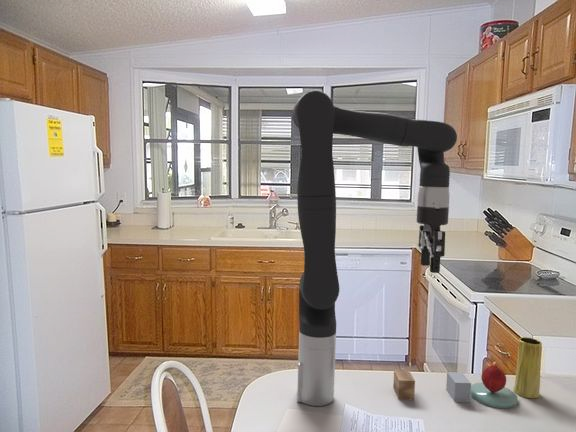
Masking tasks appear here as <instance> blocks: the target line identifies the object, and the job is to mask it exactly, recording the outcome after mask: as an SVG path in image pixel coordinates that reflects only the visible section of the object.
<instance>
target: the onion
mask: <svg viewBox="0 0 576 432" xmlns="http://www.w3.org/2000/svg"><path fill="white" fill-rule="evenodd" d="M480 378H481V383H483V384H484V386H485V387H486V388H487V389H488V390H489V391H491V392H492V393H495V392H498V391H500V390H501V389H503V388H504V387H505V388H506V385H507V376H506V374H505V372H504V371H503V369H502V368H501V367H499V366H498V363H497V362H496V361H494V362H492V364H491V365H489V366H487V367H485V368H484V369H483V371H482V373H481V377H480Z"/></svg>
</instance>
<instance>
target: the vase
mask: <svg viewBox="0 0 576 432" xmlns="http://www.w3.org/2000/svg"><path fill="white" fill-rule="evenodd" d="M542 347H543V343H542V341H541V340H539V339H535V338H534V337H528V336H525V337H524V336H523V337H519V340H518V348H517V359H516V360H517V361H516V366H515V367H516V368H515V380H514V387H513V392H514V393H515V394H516V395H518V396H520V397H523V398H526V399H537V398H539V397H540V395H541V394H540V389H541V387H540V386H541V367H542V366H541V364H542V361H541V359H542Z"/></svg>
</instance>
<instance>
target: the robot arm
mask: <svg viewBox="0 0 576 432" xmlns="http://www.w3.org/2000/svg"><path fill="white" fill-rule="evenodd" d="M292 110H293V111H292V120H293V123H294V125H295V126H296V127H297V129H298V131H299V139H300V163H299V169H298V170H299V171H298V177H297V178H298V179H297V190H296V192H297V193H296V196H297V197H296V198H297V213H298V214H297V216H298V224H299V230H300V235H301V240H302V244H303V253H304V254H303V255H304V257H303V258H304V259H303V261H304V262H303V263H304V266H303V267H304V268H303V273H302V274H301V275H300V279H299V287H298V289H299V291H298V292H299V293H298V325H299V327H298V329H299V330H298V334H299V335H298V359H297V389H296V390H297V395H296V396H297V398H296V399H297V400H296V402H297V403H303V404H305V405H309V406H313V407H321V406H328V405H329V404H331V403H332V402H333V401H334V398H335V397H334V396H335V373H336V372H335V371H336V349H337V348H336V344H337V343H336V342H337V319H336V301H337V300H338V298H339V295H340V283H339V282H340V281H339V276H338V270H337V269H338V268H337V260H336V234H337V232H336V231H337V196H336V194H337V192H336V182H335V181H336V180H335V177H336V176H335V168H334V158H333V141H334V139H333V137H334V134H335V135H341V136H351V137H356V138H362V139H365V140H368V141H369V140H370V141H373V142H374V141H375V142H378V143H383V144H388V145H392V146H398V147H415V148H417V155H418V163H419V167H420V170H419V187H418V193H417V207H416V208H417V209H416V223H417V224H419V234H418V244H417V245H418V248H419V250H420V263H419V264H420V265H421V266H423V267H424V266H427V267H428V266H429V271H430V273H431V274H439V273H440V271H441V258H442V257H445V256H446V255H445V254H446V252H445V251H446V249H445V248H446V231H444V230H443V231H441V226H446V225H448V223H449V213H450V177H451V176H450V174H451V171H450V167H449V164H447V163H446V162H445V155H444V153H445V152H447V151H450V150H451V149H452V148H453V147H454V146H455V145H456V144H457V140H458V134H457V131H456V130H455V128H454V127H453V126H451V124H449V123H446V122H441V121H435V120H428V119H427V120H425V119H413V118H409V117H406V116H402V115H397V114H391V113H386V112H378V111H377V112H376V111H361V110H351V109H346V108H342V107H338V106H336V105H334V103H333V101H332V99H331V98H330V96H329V95H328V94H327V93H325V92H323V91H322V90H318V89H316V90H310V91H307V92H306V93H304V94H303V95H302V96H300V97H299V98H298V99H297V102H295V105H294V106H293V109H292Z"/></svg>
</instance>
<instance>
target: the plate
mask: <svg viewBox="0 0 576 432" xmlns="http://www.w3.org/2000/svg"><path fill="white" fill-rule="evenodd" d="M470 397H472V398H473V400H475V401H476V402H478V403H480V404H483V405H485V406H488V407H491V408H498V409H510V408H514V407H516V405H517V403H518V396H517V393H515V391H514V390H511V389H509V388H507V387H506V386H505V387H504V388H503V389H501V390H500V391H498V392H495V393H492V392H491V391H489V390H488V389H487V388H486V387H485V386H484V384H483V382H476V383H473V384H471V394H470Z"/></svg>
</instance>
